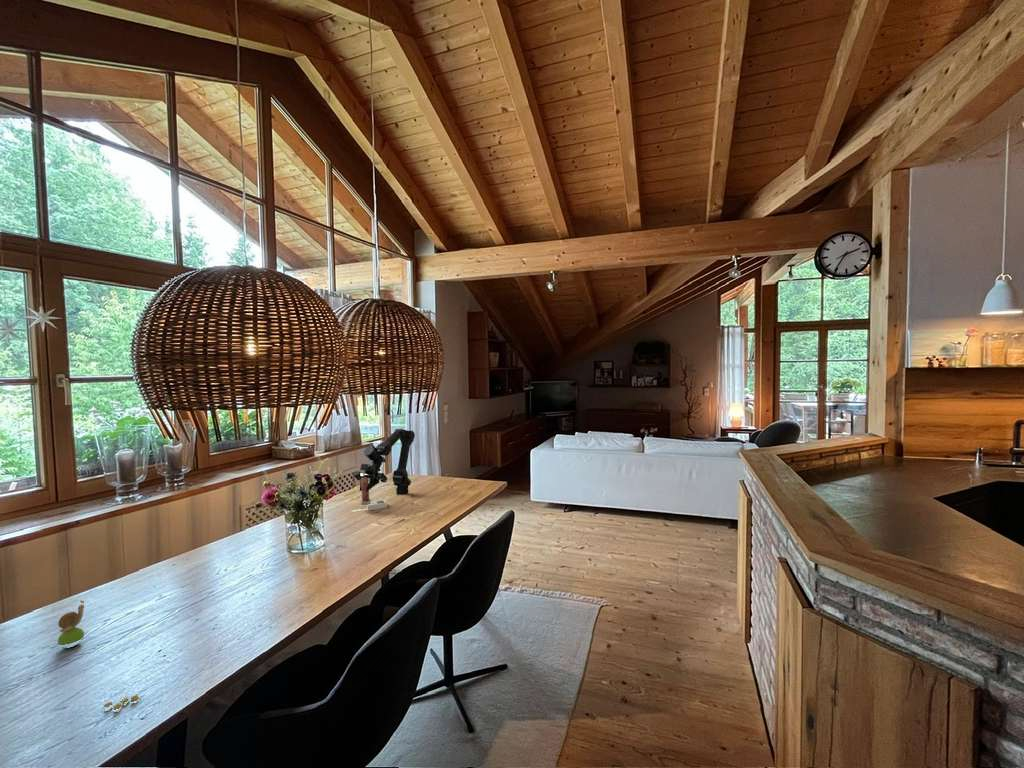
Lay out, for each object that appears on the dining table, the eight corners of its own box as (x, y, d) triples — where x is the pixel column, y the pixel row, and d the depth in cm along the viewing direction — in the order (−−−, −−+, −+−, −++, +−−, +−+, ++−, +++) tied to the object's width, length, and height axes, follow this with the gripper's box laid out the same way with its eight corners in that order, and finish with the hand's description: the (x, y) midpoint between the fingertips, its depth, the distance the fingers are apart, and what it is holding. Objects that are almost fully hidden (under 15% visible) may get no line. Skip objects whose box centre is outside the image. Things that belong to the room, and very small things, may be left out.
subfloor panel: (384, 501, 257) (384, 499, 257) (388, 510, 241) (388, 508, 241) (349, 506, 250) (349, 504, 250) (351, 516, 234) (351, 513, 234)
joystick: (371, 501, 239) (370, 476, 238) (369, 504, 234) (368, 479, 233) (361, 502, 238) (360, 477, 238) (360, 505, 234) (358, 479, 233)
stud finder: (385, 504, 248) (385, 499, 248) (387, 507, 242) (386, 502, 242) (366, 507, 244) (366, 502, 244) (367, 510, 239) (367, 505, 238)
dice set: (140, 703, 108) (139, 695, 108) (115, 719, 104) (114, 711, 104) (128, 697, 110) (127, 690, 110) (102, 712, 106) (102, 705, 106)
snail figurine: (93, 640, 133) (90, 601, 133) (67, 653, 127) (64, 613, 126) (79, 637, 135) (76, 599, 134) (53, 651, 128) (50, 611, 128)
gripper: (354, 456, 242) (340, 482, 232) (382, 458, 235) (370, 484, 226) (364, 467, 250) (351, 492, 240) (392, 469, 243) (381, 495, 234)
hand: (363, 490), depth 235 cm, fingers closed on joystick, 4 cm apart
